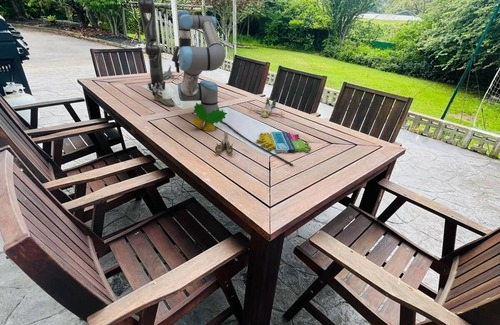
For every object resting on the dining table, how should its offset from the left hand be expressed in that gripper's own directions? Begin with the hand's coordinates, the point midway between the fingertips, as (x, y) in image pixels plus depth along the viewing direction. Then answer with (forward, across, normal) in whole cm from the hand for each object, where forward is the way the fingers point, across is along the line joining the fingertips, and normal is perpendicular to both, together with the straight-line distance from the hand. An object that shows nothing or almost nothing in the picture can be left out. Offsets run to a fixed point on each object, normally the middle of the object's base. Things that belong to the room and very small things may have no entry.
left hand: (157, 95), depth 208 cm
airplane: (+4, -44, -67) cm, 80 cm away
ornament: (+4, +4, +72) cm, 72 cm away
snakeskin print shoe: (+4, 0, +9) cm, 10 cm away
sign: (+4, -16, +114) cm, 116 cm away
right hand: (-23, -6, +34) cm, 42 cm away
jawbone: (+4, +18, +102) cm, 103 cm away
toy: (+4, -52, +72) cm, 89 cm away
